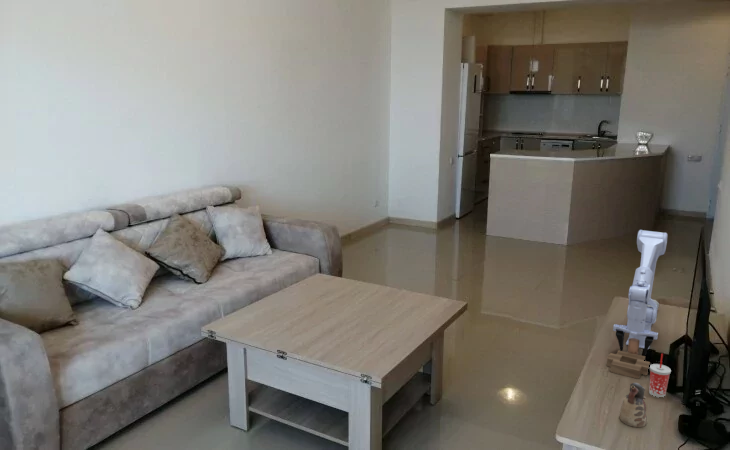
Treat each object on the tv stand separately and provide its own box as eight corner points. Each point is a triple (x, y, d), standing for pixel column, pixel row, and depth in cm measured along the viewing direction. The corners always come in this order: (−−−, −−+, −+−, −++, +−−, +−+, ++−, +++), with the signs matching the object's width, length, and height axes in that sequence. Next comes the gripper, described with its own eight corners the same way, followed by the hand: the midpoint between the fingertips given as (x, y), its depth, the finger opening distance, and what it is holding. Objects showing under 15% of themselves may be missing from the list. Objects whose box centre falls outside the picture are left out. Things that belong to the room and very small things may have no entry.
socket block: (611, 356, 207) (612, 348, 206) (650, 365, 200) (651, 357, 199) (604, 370, 196) (605, 362, 196) (645, 380, 189) (646, 372, 189)
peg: (627, 354, 208) (629, 337, 207) (638, 357, 206) (640, 339, 205) (626, 358, 206) (628, 340, 204) (636, 360, 204) (638, 342, 202)
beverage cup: (667, 400, 177) (672, 359, 174) (645, 395, 180) (650, 355, 177) (668, 392, 182) (673, 352, 179) (647, 387, 185) (652, 347, 182)
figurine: (651, 422, 165) (655, 385, 162) (636, 430, 161) (641, 392, 159) (628, 411, 171) (632, 375, 168) (614, 418, 167) (618, 381, 164)
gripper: (612, 317, 203) (609, 352, 206) (657, 325, 195) (653, 362, 198) (616, 311, 209) (613, 345, 212) (660, 319, 201) (656, 354, 204)
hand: (632, 352), depth 206 cm, fingers open, 7 cm apart
